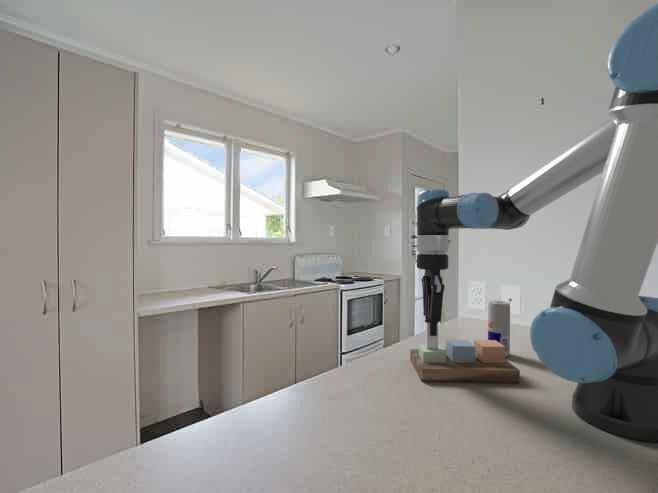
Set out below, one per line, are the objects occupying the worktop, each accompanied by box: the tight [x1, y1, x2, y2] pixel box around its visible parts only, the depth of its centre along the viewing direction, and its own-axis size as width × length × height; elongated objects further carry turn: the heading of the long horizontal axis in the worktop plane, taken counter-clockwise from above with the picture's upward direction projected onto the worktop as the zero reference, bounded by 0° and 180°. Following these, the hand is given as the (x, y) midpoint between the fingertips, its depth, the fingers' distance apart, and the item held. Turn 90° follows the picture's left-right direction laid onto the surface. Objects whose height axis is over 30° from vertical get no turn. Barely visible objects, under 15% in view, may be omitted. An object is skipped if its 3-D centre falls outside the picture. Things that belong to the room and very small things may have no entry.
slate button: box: [445, 339, 476, 363], centre depth 86 cm, size 5×5×4 cm
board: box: [409, 348, 521, 384], centre depth 86 cm, size 14×22×3 cm, turn 87°
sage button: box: [418, 344, 446, 363], centre depth 86 cm, size 5×5×4 cm
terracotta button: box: [473, 339, 506, 363], centre depth 86 cm, size 5×5×4 cm
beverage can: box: [487, 300, 511, 357], centre depth 98 cm, size 6×6×15 cm
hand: (431, 347), depth 86 cm, fingers closed
